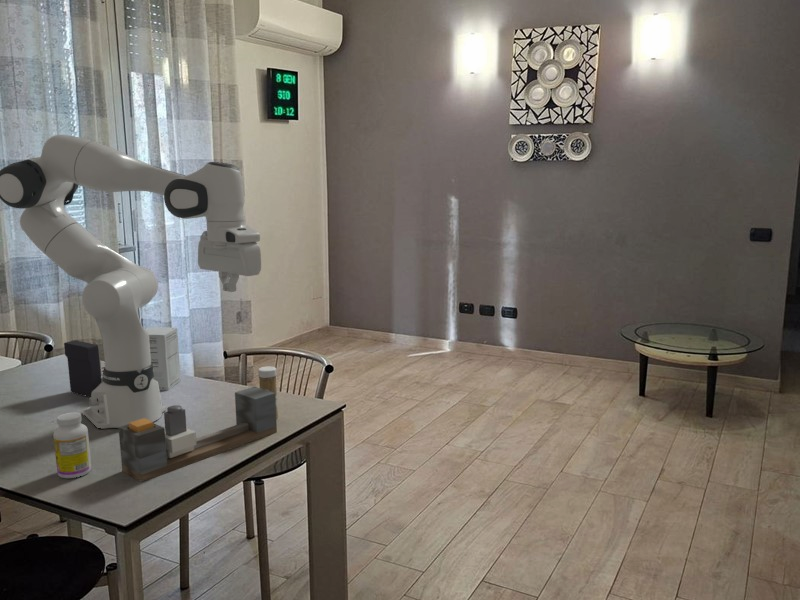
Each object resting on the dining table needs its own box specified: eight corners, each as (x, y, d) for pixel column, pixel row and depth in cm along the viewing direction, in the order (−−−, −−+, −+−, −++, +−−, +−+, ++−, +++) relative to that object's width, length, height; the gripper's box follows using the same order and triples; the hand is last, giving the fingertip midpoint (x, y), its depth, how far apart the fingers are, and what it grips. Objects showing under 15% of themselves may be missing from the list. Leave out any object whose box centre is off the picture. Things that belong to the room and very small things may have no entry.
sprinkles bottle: (281, 419, 183) (279, 368, 180) (264, 422, 180) (262, 371, 178) (273, 413, 186) (271, 364, 184) (257, 417, 184) (255, 367, 181)
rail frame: (122, 471, 152) (118, 427, 150) (256, 424, 179) (254, 386, 177) (141, 481, 147) (138, 436, 145) (276, 431, 174) (275, 393, 172)
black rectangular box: (105, 395, 202) (100, 344, 200) (91, 399, 199) (87, 347, 196) (82, 388, 208) (77, 339, 205) (68, 392, 205) (63, 342, 202)
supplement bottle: (64, 466, 154) (58, 410, 152) (95, 465, 155) (90, 409, 153) (52, 480, 148) (46, 422, 145) (85, 479, 148) (79, 421, 146)
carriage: (157, 452, 157) (154, 408, 155) (181, 444, 162) (178, 401, 160) (172, 459, 153) (169, 414, 151) (196, 451, 158) (194, 407, 156)
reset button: (130, 445, 150) (128, 422, 150) (146, 440, 153) (144, 418, 152) (139, 449, 148) (137, 426, 147) (154, 444, 151) (153, 422, 150)
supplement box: (152, 380, 216) (148, 326, 213) (181, 380, 215) (178, 327, 212) (138, 389, 207) (133, 333, 204) (168, 390, 206) (164, 334, 203)
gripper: (189, 231, 169) (193, 288, 172) (242, 236, 156) (245, 298, 159) (211, 229, 174) (214, 284, 177) (264, 234, 161) (267, 294, 164)
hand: (229, 291), depth 168 cm, fingers closed
